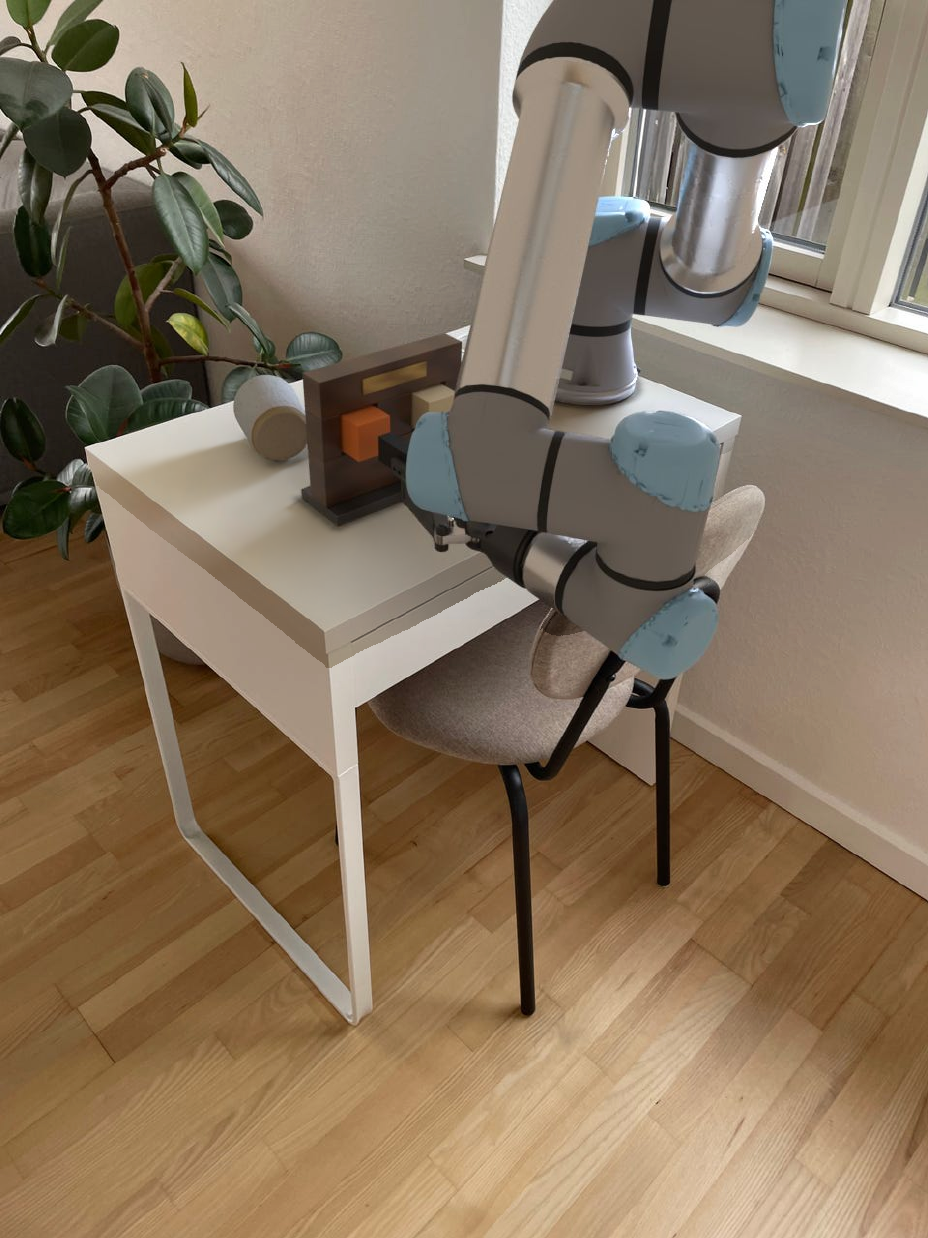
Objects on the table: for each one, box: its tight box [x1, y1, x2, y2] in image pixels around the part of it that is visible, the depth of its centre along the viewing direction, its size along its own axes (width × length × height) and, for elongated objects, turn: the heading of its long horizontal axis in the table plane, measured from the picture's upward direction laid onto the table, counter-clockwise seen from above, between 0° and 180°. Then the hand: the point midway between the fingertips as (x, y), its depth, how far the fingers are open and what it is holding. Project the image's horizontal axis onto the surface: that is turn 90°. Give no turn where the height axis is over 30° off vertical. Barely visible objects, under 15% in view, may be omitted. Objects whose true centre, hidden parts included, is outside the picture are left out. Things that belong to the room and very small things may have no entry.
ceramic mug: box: [232, 374, 308, 462], centre depth 108 cm, size 11×8×8 cm
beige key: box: [411, 383, 455, 429], centre depth 100 cm, size 4×4×4 cm
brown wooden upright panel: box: [300, 332, 463, 527], centre depth 99 cm, size 18×7×15 cm, turn 130°
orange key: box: [339, 404, 390, 462], centre depth 95 cm, size 4×4×4 cm
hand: (384, 446), depth 93 cm, fingers closed
